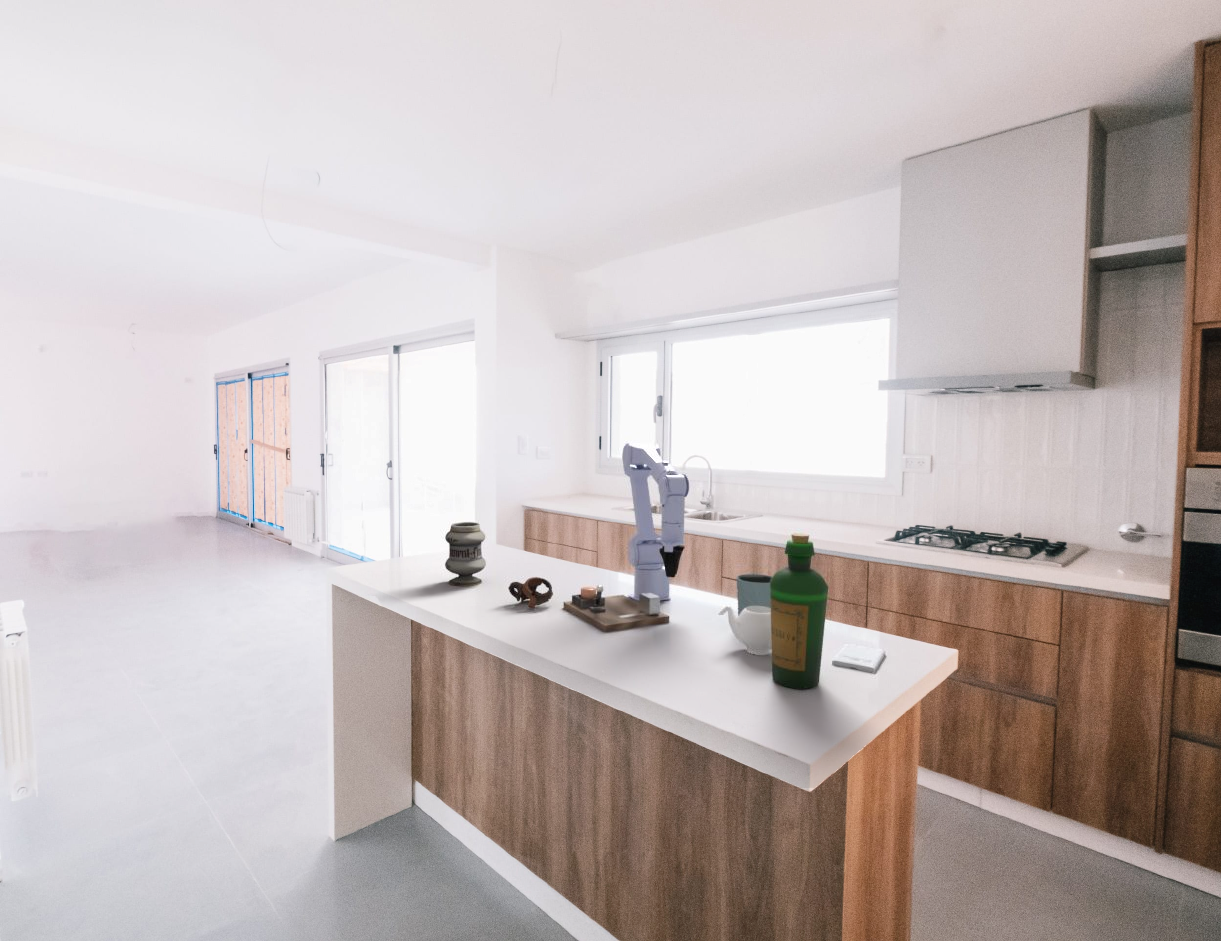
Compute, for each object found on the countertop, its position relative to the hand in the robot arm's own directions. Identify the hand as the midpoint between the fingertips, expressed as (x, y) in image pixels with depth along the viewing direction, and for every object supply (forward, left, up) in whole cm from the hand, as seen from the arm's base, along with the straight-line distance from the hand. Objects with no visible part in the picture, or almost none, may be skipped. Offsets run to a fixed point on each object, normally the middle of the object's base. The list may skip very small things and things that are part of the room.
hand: (671, 575), depth 166 cm
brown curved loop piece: (+28, -26, -11) cm, 39 cm away
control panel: (+13, -7, -10) cm, 18 cm away
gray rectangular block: (+7, 0, -9) cm, 11 cm away
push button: (+16, -14, -7) cm, 23 cm away
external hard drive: (-18, +44, -11) cm, 49 cm away
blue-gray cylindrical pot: (-13, +17, -11) cm, 24 cm away
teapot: (-1, +31, -11) cm, 33 cm away
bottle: (+4, +47, -11) cm, 48 cm away
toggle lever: (+18, -7, -7) cm, 20 cm away
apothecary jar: (+37, -57, -11) cm, 68 cm away
